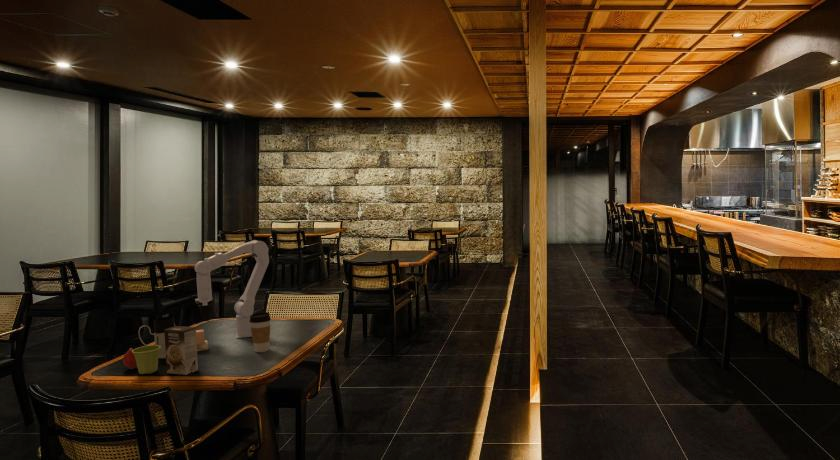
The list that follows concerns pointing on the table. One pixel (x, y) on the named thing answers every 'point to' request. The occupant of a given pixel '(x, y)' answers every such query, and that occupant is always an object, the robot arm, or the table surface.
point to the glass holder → (160, 333)
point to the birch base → (202, 346)
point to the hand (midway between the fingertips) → (206, 319)
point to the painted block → (200, 336)
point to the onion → (129, 359)
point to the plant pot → (147, 358)
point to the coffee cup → (260, 331)
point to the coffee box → (181, 350)
